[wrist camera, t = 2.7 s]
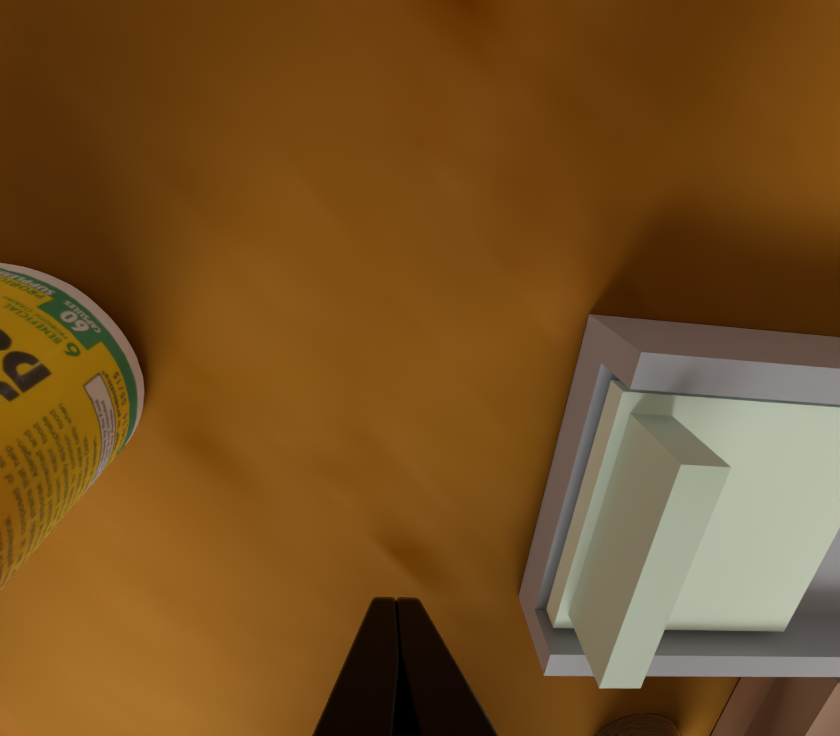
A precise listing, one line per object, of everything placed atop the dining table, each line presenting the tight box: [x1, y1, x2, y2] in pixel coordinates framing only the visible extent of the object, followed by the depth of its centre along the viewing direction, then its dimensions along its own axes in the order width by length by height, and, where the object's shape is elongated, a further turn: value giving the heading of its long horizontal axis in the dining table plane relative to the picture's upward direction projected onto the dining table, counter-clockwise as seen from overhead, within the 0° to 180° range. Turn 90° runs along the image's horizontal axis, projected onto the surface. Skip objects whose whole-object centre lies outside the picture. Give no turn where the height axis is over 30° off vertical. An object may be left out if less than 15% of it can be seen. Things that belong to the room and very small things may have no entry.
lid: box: [546, 380, 840, 688], centre depth 12 cm, size 7×7×3 cm
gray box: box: [518, 314, 840, 677], centre depth 13 cm, size 14×9×3 cm, turn 83°
